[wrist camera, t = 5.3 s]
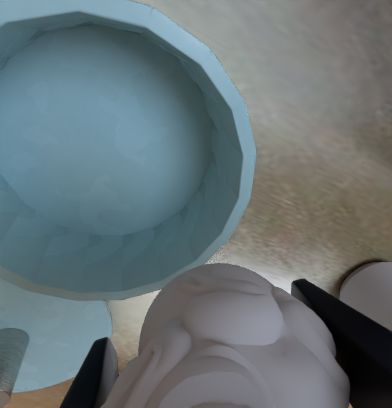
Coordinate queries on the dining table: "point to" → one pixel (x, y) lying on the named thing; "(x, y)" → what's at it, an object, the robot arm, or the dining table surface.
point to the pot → (113, 149)
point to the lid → (45, 338)
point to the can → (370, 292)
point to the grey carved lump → (230, 348)
